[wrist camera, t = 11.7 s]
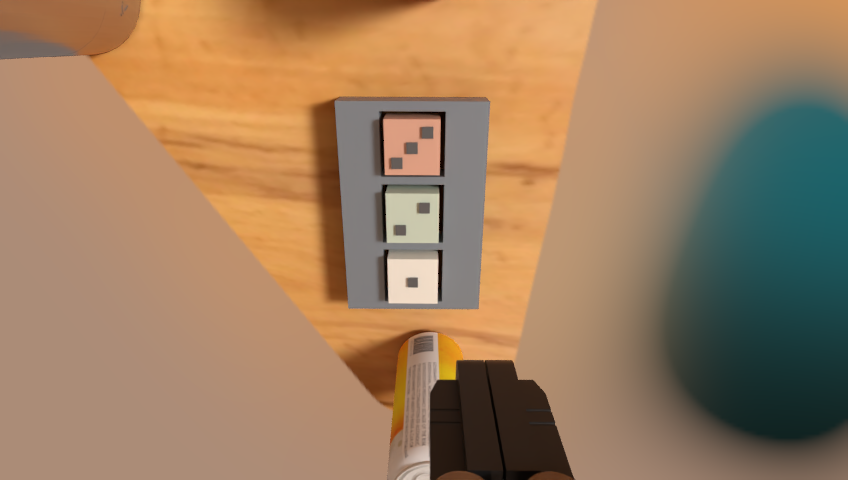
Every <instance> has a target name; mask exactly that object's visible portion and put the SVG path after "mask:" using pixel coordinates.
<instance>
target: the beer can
mask: <svg viewBox="0 0 848 480" xmlns="http://www.w3.org/2000/svg"><path fill="white" fill-rule="evenodd" d="M457 360H463V354H462V351H461V349H460V347H459V345H458V344H457V343H456V342H455V341H454V340H453V339H452V338H450V337H448V336H446V335H444V334H441V333H437V332H424V333H420V334H417V335H414V336H412V337H411V338H409V339H408V340H407V341H406V342H405V343H404V344H403V345H402V346H401V348H400V350H399V353H398V361H397V372H396V383H395V394H394V406H393V418H392V428H391V439H390V450H389V451H390V452H389V462H388V474H387V480H430V447H429V430H430V392H431V390H432V389H433V387H434V385H435V383H436V382H437V380H455V378H456V361H457Z"/></svg>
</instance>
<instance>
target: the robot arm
mask: <svg viewBox="0 0 848 480" xmlns="http://www.w3.org/2000/svg"><path fill="white" fill-rule="evenodd" d="M140 1H141V0H0V59H14V58H33V57H56V56H76V55H95V54H100V53H105V52H109V51H111V50H113V49H115V48H117V47H119V46H120V45H121V44H122V43H123V42H124V41H125V40H126V39H128V38H129V36H130V34H131V33H132V31H133V30H134V28H135V26H136V23H137V20H138V17H139V13H140ZM429 447H430V480H575V479H574V477H573V475H572V472H571V469H570V466H569V463H568V460H567V457H566V454H565V451H564V448H563V445H562V442H561V439H560V436H559V433H558V430H557V427H556V426H555V421H554V418H553V415H552V412H551V409H550V406H549V403H548V400H547V397H546V394H545V393H544V391H543V390H542V389H540V387H539V386H538V385H537V384H536V383H535V382H534V381H533V380H518V378H517V374H516V371H515V367H514V363H513V361H512V360H485V362H484V361H483V360H457V361H456V378H455V380H437V382H436V383H435V385H434V387H433V389H432V390H431V392H430V430H429Z"/></svg>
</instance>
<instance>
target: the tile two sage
mask: <svg viewBox="0 0 848 480" xmlns="http://www.w3.org/2000/svg"><path fill="white" fill-rule="evenodd" d="M385 195H386V230H387V243H439V185H402V184H388V186H387V189H386V193H385Z"/></svg>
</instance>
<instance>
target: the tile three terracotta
mask: <svg viewBox="0 0 848 480" xmlns="http://www.w3.org/2000/svg"><path fill="white" fill-rule="evenodd" d="M383 127H384V161H385V175H440V129H441V118H440V113H386V115H385V117H384V119H383Z"/></svg>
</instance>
